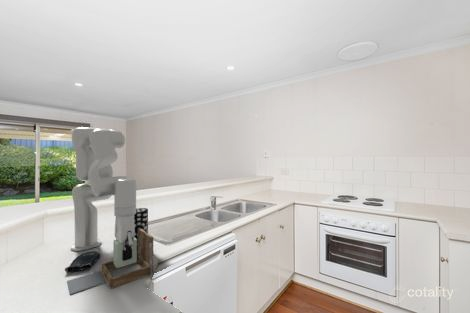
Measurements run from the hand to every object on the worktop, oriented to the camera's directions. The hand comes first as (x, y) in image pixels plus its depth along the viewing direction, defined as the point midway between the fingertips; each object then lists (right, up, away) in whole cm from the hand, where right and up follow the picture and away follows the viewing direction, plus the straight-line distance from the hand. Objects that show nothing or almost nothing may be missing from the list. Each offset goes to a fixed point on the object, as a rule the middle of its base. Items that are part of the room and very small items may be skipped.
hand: (125, 256), depth 84 cm
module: (0, -3, 0) cm, 3 cm away
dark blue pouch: (-21, -7, +7) cm, 23 cm away
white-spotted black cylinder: (-2, -7, +17) cm, 18 cm away
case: (+1, -6, 0) cm, 6 cm away
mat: (-11, -6, -7) cm, 14 cm away
